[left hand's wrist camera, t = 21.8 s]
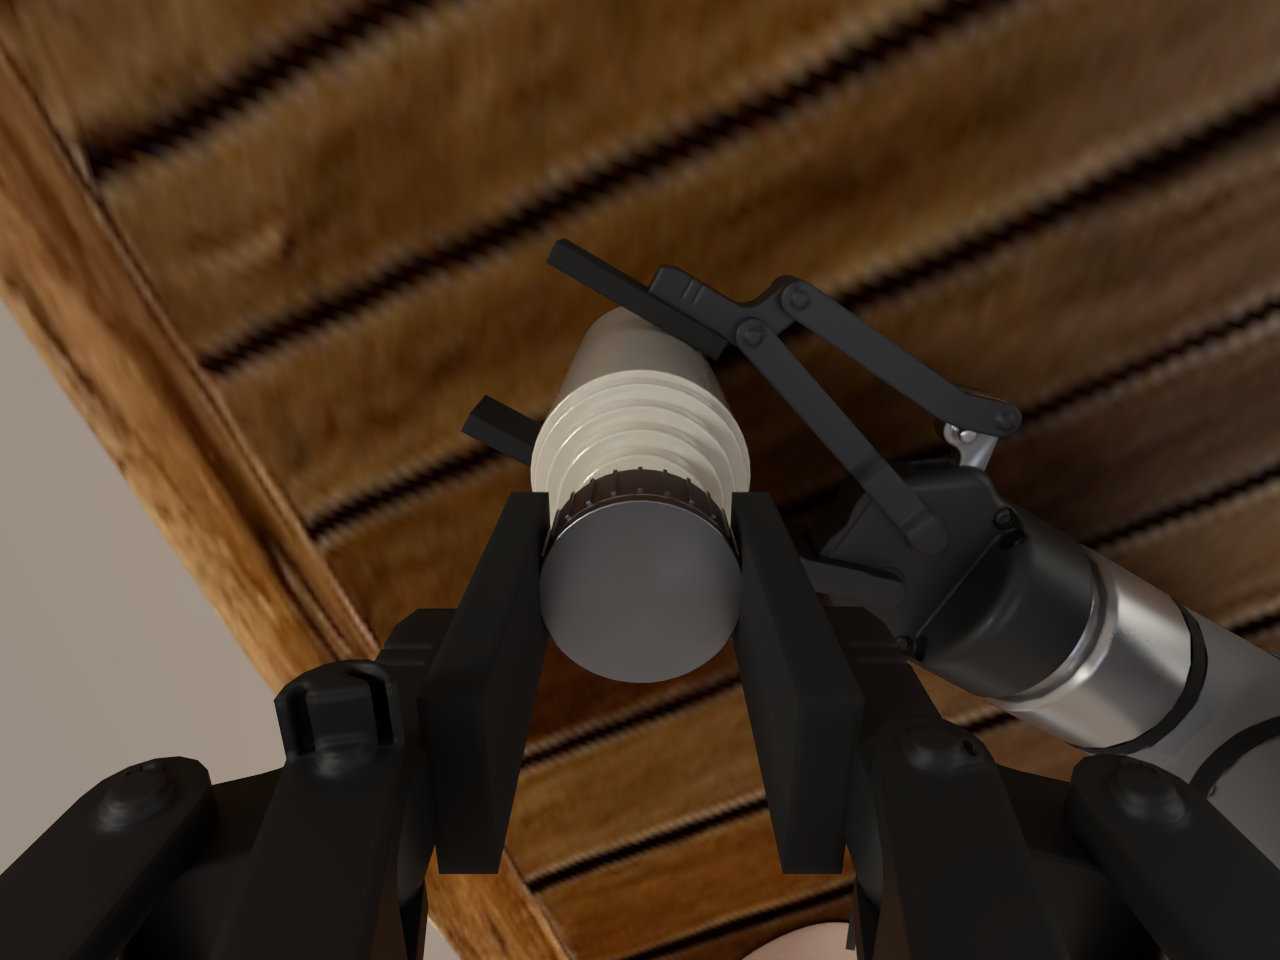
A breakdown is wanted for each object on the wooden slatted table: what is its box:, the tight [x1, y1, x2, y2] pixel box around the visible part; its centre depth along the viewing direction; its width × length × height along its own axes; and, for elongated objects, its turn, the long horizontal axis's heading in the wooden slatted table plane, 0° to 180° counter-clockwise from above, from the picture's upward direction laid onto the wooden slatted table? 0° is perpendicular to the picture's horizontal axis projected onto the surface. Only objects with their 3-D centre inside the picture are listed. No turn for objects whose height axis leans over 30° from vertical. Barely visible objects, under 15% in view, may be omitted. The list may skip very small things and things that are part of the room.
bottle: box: [531, 306, 751, 529], centre depth 23 cm, size 6×6×20 cm
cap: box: [539, 467, 742, 683], centre depth 14 cm, size 4×4×2 cm
